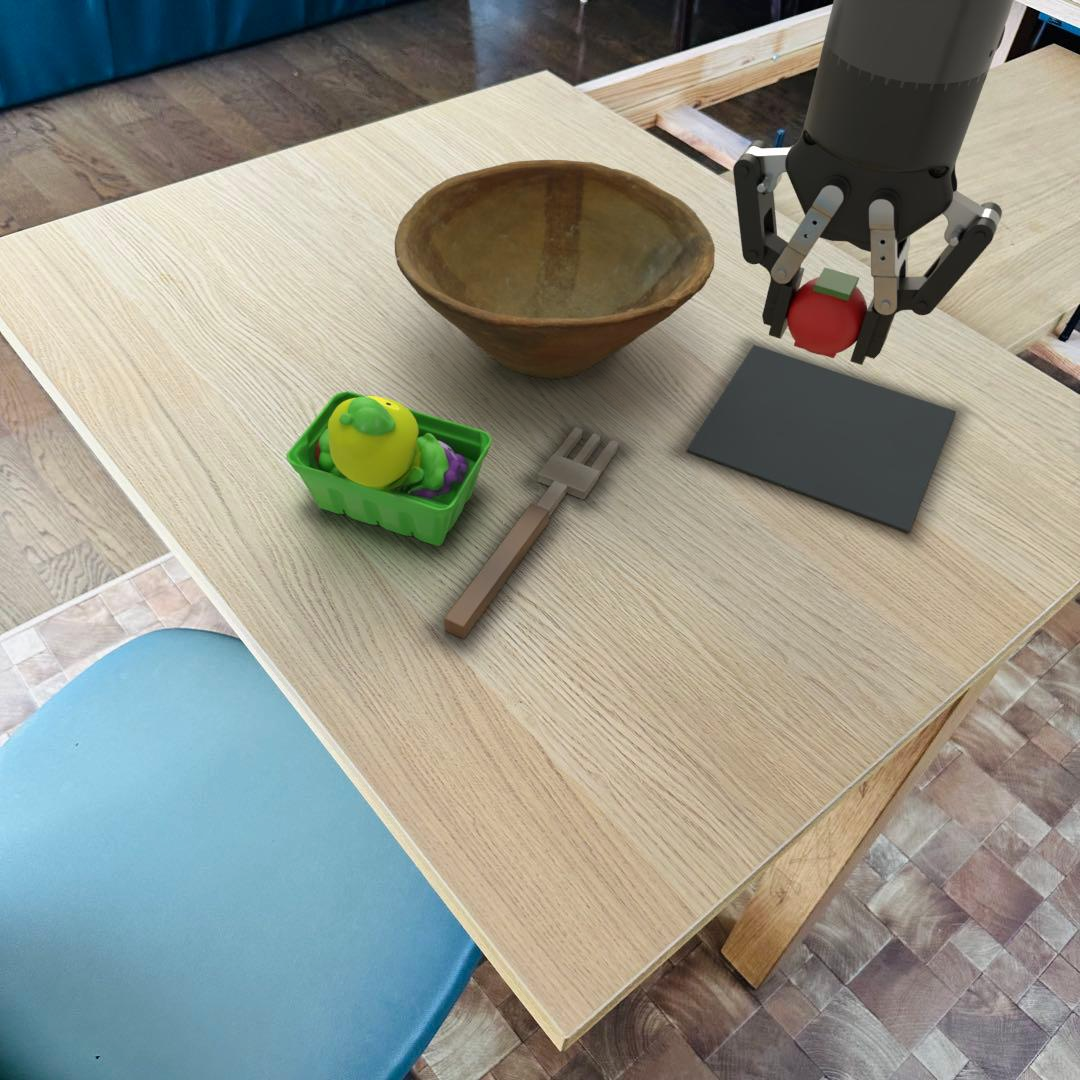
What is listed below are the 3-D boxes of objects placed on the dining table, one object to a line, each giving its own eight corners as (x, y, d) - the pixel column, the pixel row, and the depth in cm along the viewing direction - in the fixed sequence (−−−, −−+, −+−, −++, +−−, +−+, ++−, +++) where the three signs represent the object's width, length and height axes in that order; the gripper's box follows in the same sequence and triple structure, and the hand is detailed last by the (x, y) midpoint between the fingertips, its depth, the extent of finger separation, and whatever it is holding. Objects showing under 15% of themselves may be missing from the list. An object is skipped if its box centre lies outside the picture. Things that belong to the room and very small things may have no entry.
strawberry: (864, 338, 61) (886, 272, 57) (844, 379, 58) (865, 313, 55) (792, 316, 62) (810, 250, 58) (769, 356, 59) (786, 289, 56)
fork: (573, 434, 74) (574, 421, 73) (618, 451, 73) (620, 438, 72) (428, 623, 62) (427, 611, 61) (480, 647, 61) (479, 634, 60)
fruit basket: (497, 488, 70) (496, 355, 62) (442, 580, 64) (434, 448, 56) (347, 443, 72) (328, 310, 64) (282, 529, 67) (252, 394, 58)
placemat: (955, 413, 77) (956, 410, 77) (908, 533, 68) (909, 531, 68) (753, 346, 82) (753, 344, 81) (686, 451, 73) (686, 449, 73)
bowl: (696, 453, 73) (719, 338, 66) (379, 424, 74) (366, 308, 66) (695, 278, 88) (714, 169, 80) (430, 256, 89) (424, 146, 81)
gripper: (734, 34, 47) (681, 340, 59) (1058, 111, 43) (927, 421, 55) (785, -19, 51) (725, 275, 64) (1081, 45, 47) (955, 346, 60)
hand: (819, 341), depth 60 cm, fingers closed on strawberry, 4 cm apart
